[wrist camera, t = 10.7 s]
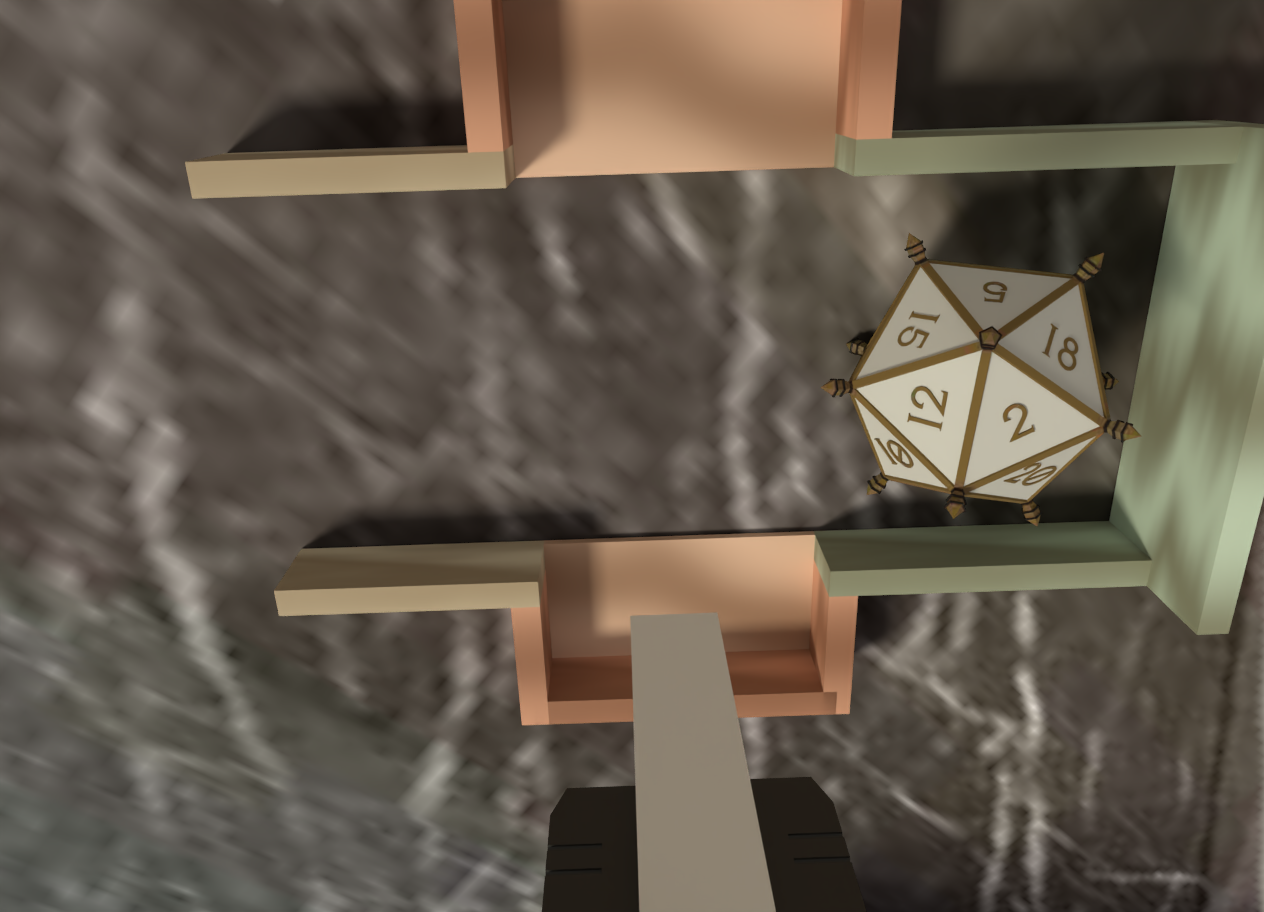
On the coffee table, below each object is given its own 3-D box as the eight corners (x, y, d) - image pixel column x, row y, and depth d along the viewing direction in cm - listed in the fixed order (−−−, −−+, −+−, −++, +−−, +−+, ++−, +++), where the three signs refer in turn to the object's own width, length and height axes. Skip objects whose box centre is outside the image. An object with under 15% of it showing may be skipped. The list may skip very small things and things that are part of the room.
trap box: (1108, 655, 37) (1196, 759, 31) (327, 682, 37) (275, 791, 31) (1252, -62, 27) (1415, -95, 22) (192, -27, 27) (82, -51, 22)
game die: (954, 301, 35) (1243, 372, 28) (843, 497, 35) (1105, 619, 28) (849, 158, 29) (1187, 202, 22) (712, 396, 28) (1009, 520, 21)
